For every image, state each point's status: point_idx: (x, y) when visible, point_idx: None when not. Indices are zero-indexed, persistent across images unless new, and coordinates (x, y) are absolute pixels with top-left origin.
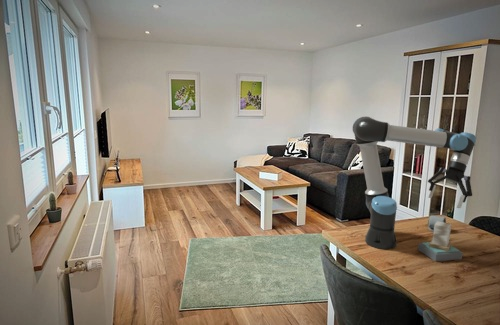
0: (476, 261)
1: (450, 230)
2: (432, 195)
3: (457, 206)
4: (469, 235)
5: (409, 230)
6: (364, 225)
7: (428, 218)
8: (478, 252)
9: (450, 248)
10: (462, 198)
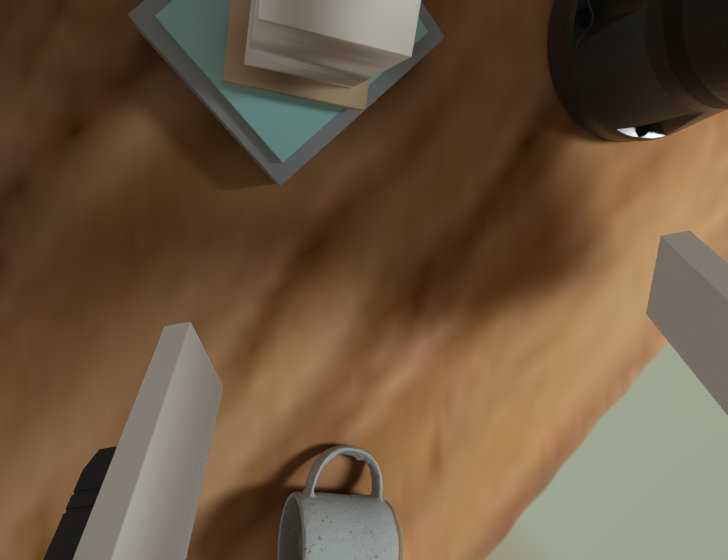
0: (29, 40)
1: (251, 37)
2: (686, 263)
3: (216, 392)
4: None
5: (479, 371)
6: None
7: (403, 542)
8: (27, 241)
9: (224, 19)
10: (135, 473)
